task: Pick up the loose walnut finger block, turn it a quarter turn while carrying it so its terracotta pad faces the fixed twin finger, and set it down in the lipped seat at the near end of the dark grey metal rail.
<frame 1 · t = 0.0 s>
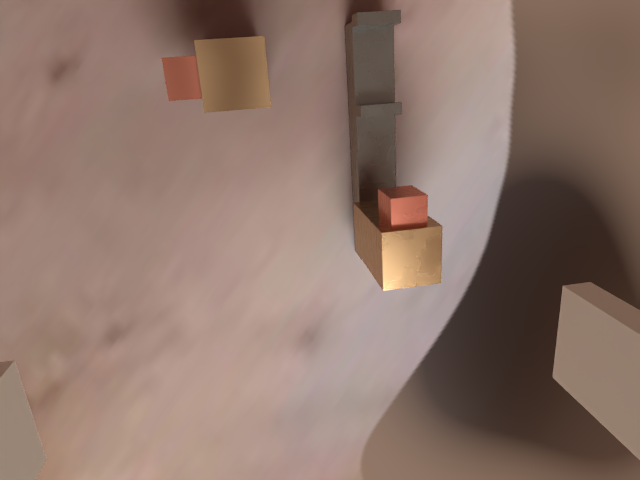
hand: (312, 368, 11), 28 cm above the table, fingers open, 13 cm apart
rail: (368, 145, 38), on the table
walnut finger: (235, 76, 35), on the table
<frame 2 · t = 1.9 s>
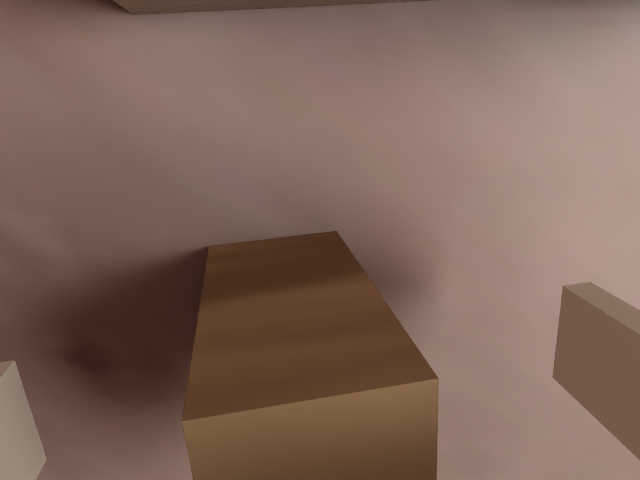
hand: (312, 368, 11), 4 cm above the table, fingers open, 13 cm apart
walnut finger: (279, 296, 15), on the table
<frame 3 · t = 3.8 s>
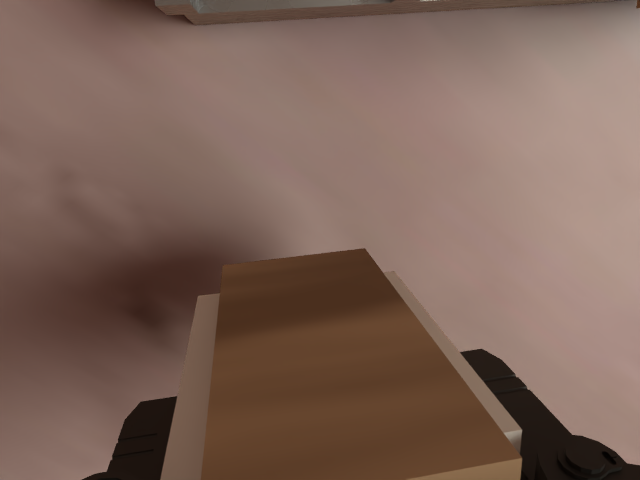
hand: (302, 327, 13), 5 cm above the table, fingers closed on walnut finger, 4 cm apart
walnut finger: (300, 320, 14), point 4 cm above the table, touching gripper
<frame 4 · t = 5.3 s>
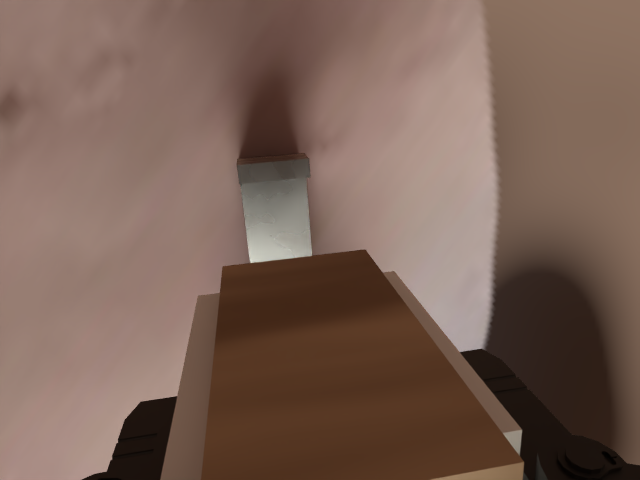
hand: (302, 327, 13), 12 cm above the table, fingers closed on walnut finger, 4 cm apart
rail: (285, 316, 26), on the table
walnut finger: (301, 321, 14), point 12 cm above the table, touching gripper
when the fingers open (2 cm above the table, at t = 7.1 s): walnut finger stays where it is, resting on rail.
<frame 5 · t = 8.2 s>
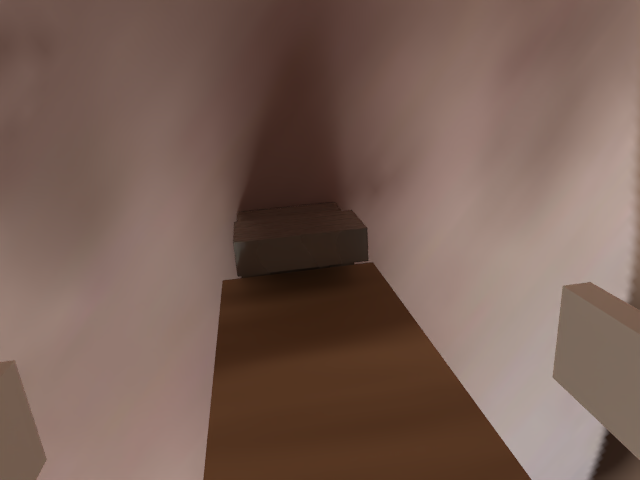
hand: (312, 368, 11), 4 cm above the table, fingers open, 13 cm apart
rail: (308, 442, 17), on the table
walnut finger: (305, 337, 13), point 2 cm above the table, touching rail
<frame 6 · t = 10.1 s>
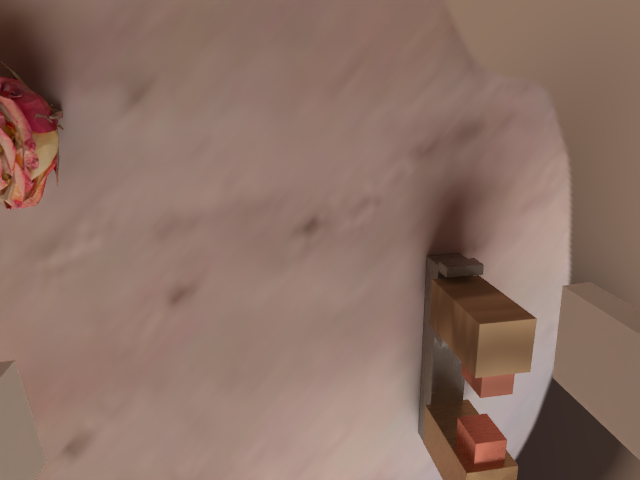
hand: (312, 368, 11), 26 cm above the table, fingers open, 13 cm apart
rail: (437, 347, 43), on the table
walnut finger: (453, 299, 39), point 2 cm above the table, touching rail
flower: (18, 135, 33), on the table
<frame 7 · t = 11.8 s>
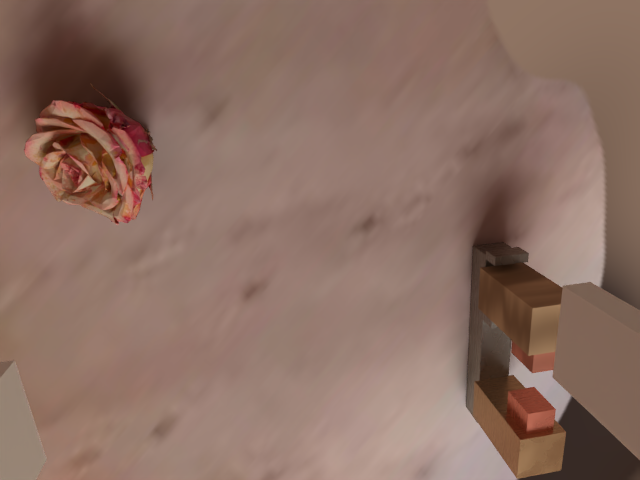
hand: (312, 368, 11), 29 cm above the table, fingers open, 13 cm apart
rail: (483, 329, 47), on the table
walnut finger: (500, 285, 42), point 2 cm above the table, touching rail
flower: (110, 155, 36), on the table
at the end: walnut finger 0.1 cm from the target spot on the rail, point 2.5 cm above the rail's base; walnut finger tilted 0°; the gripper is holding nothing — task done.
